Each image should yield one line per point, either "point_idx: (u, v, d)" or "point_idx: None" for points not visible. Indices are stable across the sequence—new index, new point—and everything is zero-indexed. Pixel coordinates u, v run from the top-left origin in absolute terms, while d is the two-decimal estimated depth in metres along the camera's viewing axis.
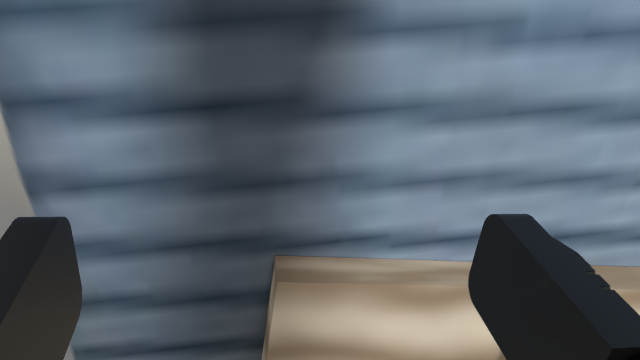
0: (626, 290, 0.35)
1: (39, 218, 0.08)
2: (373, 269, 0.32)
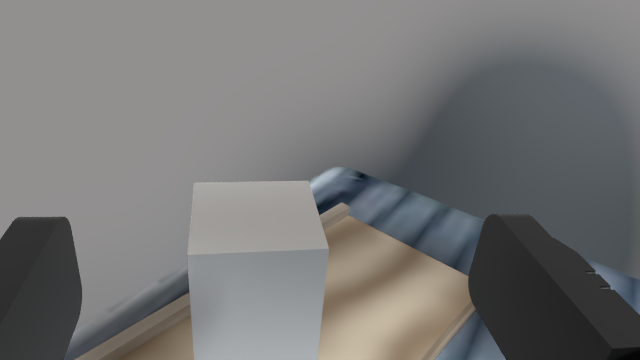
0: None
1: (39, 218, 0.08)
2: (444, 340, 0.36)
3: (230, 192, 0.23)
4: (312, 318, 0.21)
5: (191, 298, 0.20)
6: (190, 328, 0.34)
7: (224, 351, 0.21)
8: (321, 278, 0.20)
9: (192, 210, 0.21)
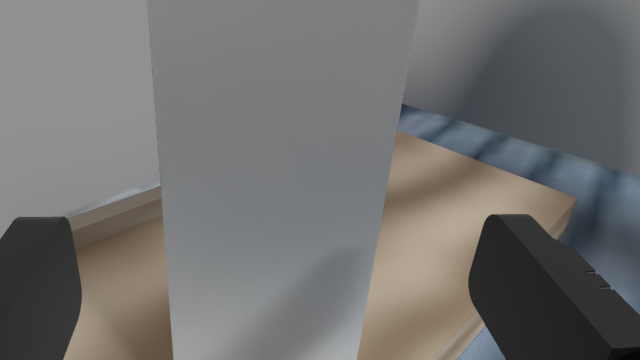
0: None
1: (39, 218, 0.08)
2: None
3: None
4: (387, 87, 0.11)
5: (150, 0, 0.10)
6: None
7: (218, 149, 0.11)
8: None
9: None
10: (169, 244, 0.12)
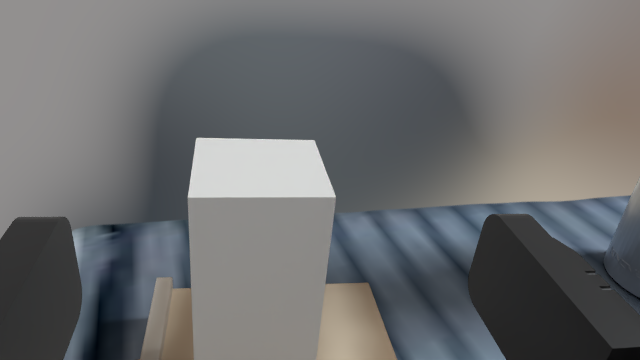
0: None
1: (39, 218, 0.08)
2: None
3: (233, 146, 0.22)
4: (317, 275, 0.21)
5: (191, 247, 0.19)
6: None
7: (224, 309, 0.21)
8: (327, 230, 0.20)
9: (194, 160, 0.21)
10: (196, 356, 0.22)
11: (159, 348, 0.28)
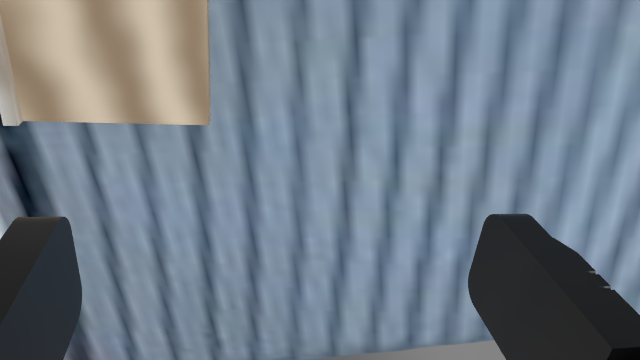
0: (207, 59, 0.38)
1: (39, 218, 0.08)
2: None
3: None
4: None
5: None
6: None
7: None
8: None
9: None
10: None
11: None
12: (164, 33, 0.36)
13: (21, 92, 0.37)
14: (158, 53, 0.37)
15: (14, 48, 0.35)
